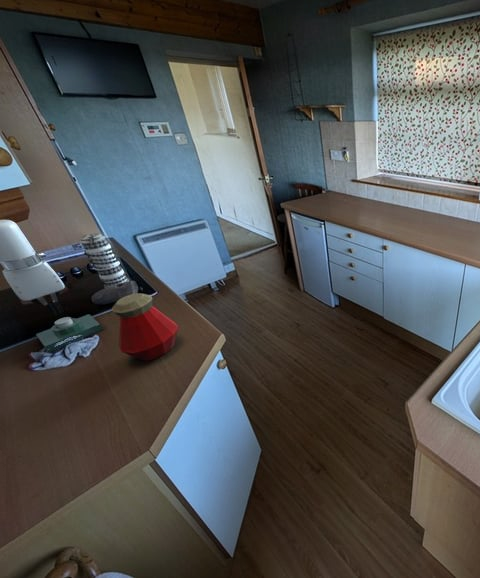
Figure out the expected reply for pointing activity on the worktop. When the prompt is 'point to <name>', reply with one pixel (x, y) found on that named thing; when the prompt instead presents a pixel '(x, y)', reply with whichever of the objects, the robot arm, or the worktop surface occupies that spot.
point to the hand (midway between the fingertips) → (57, 312)
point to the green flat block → (69, 332)
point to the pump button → (63, 322)
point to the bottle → (143, 328)
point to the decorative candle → (103, 259)
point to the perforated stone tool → (115, 293)
